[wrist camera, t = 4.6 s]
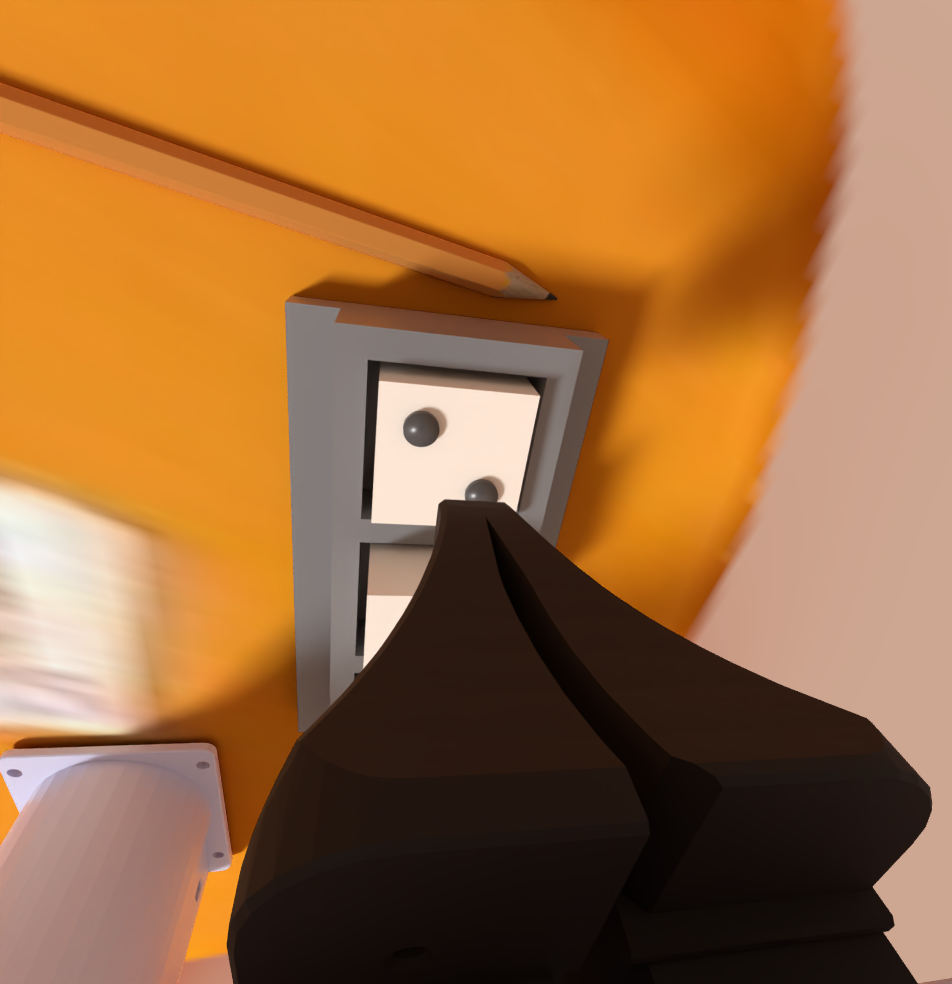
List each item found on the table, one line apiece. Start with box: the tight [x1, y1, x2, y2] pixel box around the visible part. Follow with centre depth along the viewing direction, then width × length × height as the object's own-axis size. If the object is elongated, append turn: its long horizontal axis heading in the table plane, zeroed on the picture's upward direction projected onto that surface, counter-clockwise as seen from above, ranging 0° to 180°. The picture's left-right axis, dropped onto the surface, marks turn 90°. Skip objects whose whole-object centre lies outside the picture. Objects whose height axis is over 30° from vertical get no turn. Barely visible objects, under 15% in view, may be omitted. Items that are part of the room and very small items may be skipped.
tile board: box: [285, 296, 609, 732], centre depth 18 cm, size 17×9×3 cm, turn 172°
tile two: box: [371, 361, 540, 526], centre depth 15 cm, size 4×4×3 cm
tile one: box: [363, 543, 433, 669], centre depth 16 cm, size 4×4×3 cm
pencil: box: [0, 82, 557, 300], centre depth 13 cm, size 1×1×19 cm
